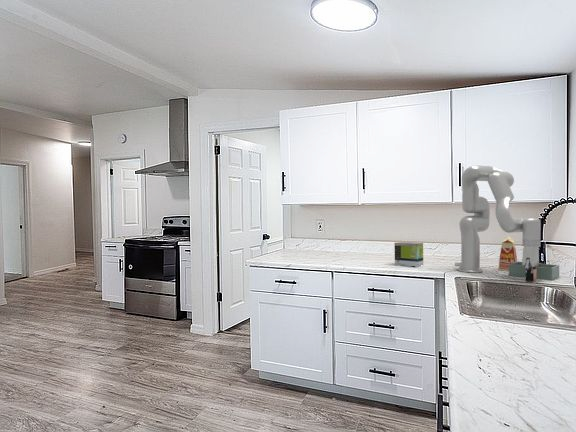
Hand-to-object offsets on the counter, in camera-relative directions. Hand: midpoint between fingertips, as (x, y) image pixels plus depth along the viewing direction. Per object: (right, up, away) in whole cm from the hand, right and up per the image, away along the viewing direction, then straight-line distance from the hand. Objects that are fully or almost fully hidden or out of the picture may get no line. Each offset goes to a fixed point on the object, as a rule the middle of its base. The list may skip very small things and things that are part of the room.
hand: (531, 279), depth 191 cm
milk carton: (+7, 0, +32) cm, 33 cm away
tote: (+9, 0, +12) cm, 15 cm away
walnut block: (+9, +1, +12) cm, 15 cm away
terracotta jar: (0, -1, 0) cm, 1 cm away
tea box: (-44, 0, +54) cm, 69 cm away
